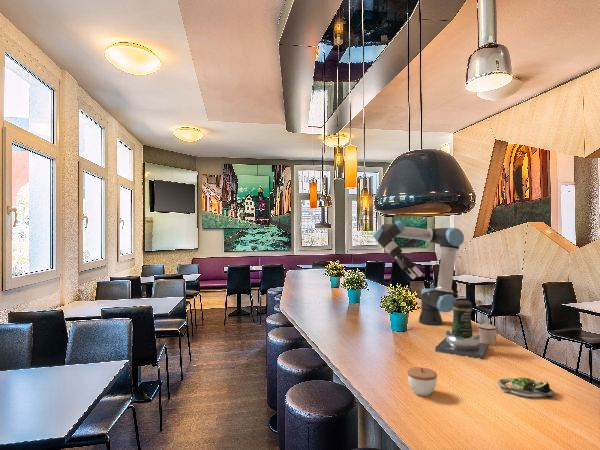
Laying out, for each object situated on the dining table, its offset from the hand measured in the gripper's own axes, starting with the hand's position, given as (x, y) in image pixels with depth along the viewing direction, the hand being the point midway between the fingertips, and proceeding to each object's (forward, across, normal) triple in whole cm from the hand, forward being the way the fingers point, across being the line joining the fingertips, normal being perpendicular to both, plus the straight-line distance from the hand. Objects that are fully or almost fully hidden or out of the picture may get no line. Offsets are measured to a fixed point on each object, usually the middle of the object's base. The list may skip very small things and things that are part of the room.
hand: (418, 276), depth 221 cm
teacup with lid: (+50, -9, 0) cm, 51 cm away
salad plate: (+64, +53, +16) cm, 85 cm away
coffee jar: (+38, +12, -1) cm, 40 cm away
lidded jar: (+40, +78, -7) cm, 88 cm away
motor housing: (+43, +13, -5) cm, 46 cm away
